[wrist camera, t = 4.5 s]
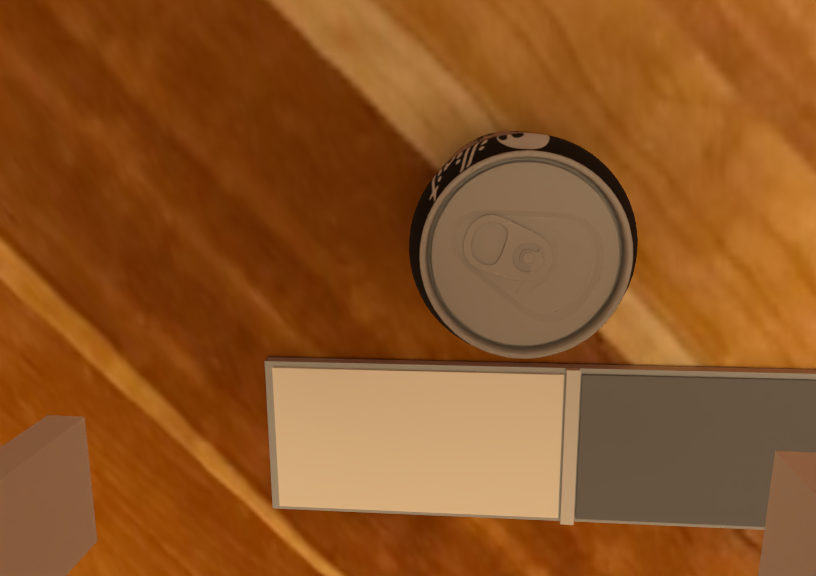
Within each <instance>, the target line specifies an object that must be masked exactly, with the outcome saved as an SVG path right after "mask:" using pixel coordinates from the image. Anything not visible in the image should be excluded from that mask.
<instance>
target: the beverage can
mask: <svg viewBox="0 0 816 576" xmlns="http://www.w3.org/2000/svg"><path fill="white" fill-rule="evenodd" d="M637 241H638V239H637V229H636V222H635V217H634V213H633V210H632V207H631V205H630V202H629V200H628V197H627V195H626V193H625V191H624V190H623V188H622V186H621V185H620V183H619V181H618V180H617V179H616V177H615V176H614V175H613V174H612V172H611V171H610V170H609V169H608V168H607V167H606V166H605V165H604V164H603V163H602V162H601V161H600V160H599V159H597V158H596V157H595V156H594V155H592V154H591V153H589V152H588V151H586V150H585V149H583V148H581V147H579V146H577V145H575V144H573V143H571V142H569V141H566V140H563V139H560V138H557V137H553V136H549V135H543V134H535V133H527V132H519V131H503V132H496V133H491V134H488V135H485V136H482V137H480V138H477V139H475V140H473V141H471V142H470V143H468V144H466V145H465V146H464V147H462V148H461V149H460V150H458V151H457V152H456V153H455V154H454V155H453V156H452V157H451V158H450V159H449V161H448V162H447V163H446V164H445V165H444V166H443V167H442V168H441V169H440V171H439V172H438V173H437V174H436V175H435V176H434V178H433V179H432V180H431V182H430V183H429V184H428V186H427V188H426V189H425V191H424V193H423V194H422V196H421V198H420V200H419V203H418V205H417V208H416V210H415V213H414V217H413V220H412V224H411V230H410V240H409V254H410V263H411V269H412V273H413V277H414V280H415V283H416V286H417V288H418V290H419V293H420V295H421V297H422V299H423V300H424V302H425V304H426V306H427V307H428V308H429V310H430V311H431V313H432V314H433V315H434V316H435V318H436V319H437V320H438V321H439V322H440V323H441V324H442V325H443V326H444V327H446V328H447V329H448V330H449V331H450V332H452V333H453V334H454V335H456V336H457V337H459V338H460V339H462V340H463V341H465V342H466V343H468V344H471V345H473V346H475V347H477V348H479V349H481V350H483V351H486V352H488V353H492V354H495V355H499V356H503V357H509V358H525V359H529V358H540V357H545V356H550V355H554V354H557V353H560V352H563V351H566V350H568V349H570V348H573V347H575V346H576V345H578V344H580V343H581V342H583V341H585V340H587V339H588V338H589V337H591V336H592V335H593V334H594V333H595V332H596V331H598V330H599V329H600V328H601V327H602V326H603V325H604V324H605V323H606V322H607V321H608V319H609V318H610V317H611V316H612V314H613V313H614V312H615V310H616V309H617V307H618V305H619V304H620V302H621V300H622V298H623V296H624V294H625V292H626V290H627V289H628V286H629V284H630V281H631V278H632V275H633V272H634V267H635V262H636V256H637Z"/></svg>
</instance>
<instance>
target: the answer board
mask: <svg viewBox="0 0 816 576" xmlns="http://www.w3.org/2000/svg"><path fill="white" fill-rule="evenodd" d="M265 378H266V396H267V413H268V431H269V449H270V467H271V484H272V502H273V508H277V509H300V510H323V511H346V512H369V513H392V514H415V515H438V516H461V517H484V518H507V519H530V520H553V521H560V524H565V525H574V521H575V522H598V523H621V524H644V525H667V526H690V527H713V528H736V529H759V530H764V529H765V522H766V515H767V507H768V500H769V493H770V485H771V478H772V470H773V463H774V456H775V451H792V452H813V453H816V369H777V368H732V367H688V366H644V365H599V364H555V363H510V362H466V361H422V360H377V359H333V358H288V357H268V358H267V359H266V360H265Z"/></svg>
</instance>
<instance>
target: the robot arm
mask: <svg viewBox="0 0 816 576" xmlns="http://www.w3.org/2000/svg"><path fill="white" fill-rule="evenodd" d="M96 542H97V534H96V525H95V515H94V505H93V495H92V486H91V476H90V466H89V457H88V447H87V437H86V427H85V418H84V417H73V416H53V415H47V416H46V417H45V418H43V419H42V420H40V421H39V422H37V423H36V424H34V425H33V426H31V427H30V428H28V429H27V430H25V431H24V432H22V433H21V434H19V435H18V436H16V437H15V438H13V439H12V440H11V441H9V442H8V443H6V444H5V445H3V446H2V447H0V576H66V575H67V574H68V573H69V572H70V570H71V569H72V568H73V567H74V566H75V565H76V564H77V563H78V562H79V561H80V559H81V558H82V557H83V556H84V555H85V554H86V553H87V552H88V551H89V550H90V549H91V547H92V546H93V545H94V544H95V543H96ZM758 576H816V453H813V452H792V451H775V456H774V463H773V470H772V478H771V485H770V493H769V500H768V507H767V515H766V522H765V529H764V537H763V544H762V551H761V559H760V566H759V574H758Z"/></svg>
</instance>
